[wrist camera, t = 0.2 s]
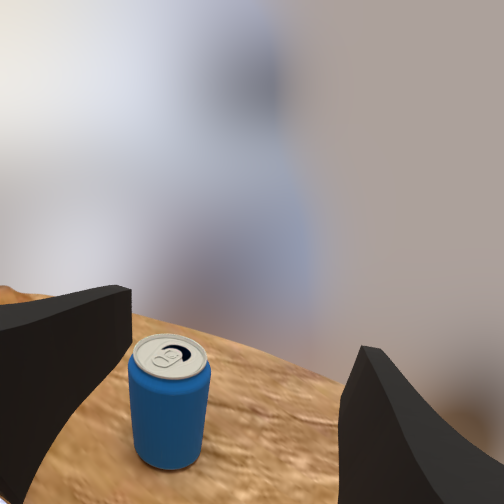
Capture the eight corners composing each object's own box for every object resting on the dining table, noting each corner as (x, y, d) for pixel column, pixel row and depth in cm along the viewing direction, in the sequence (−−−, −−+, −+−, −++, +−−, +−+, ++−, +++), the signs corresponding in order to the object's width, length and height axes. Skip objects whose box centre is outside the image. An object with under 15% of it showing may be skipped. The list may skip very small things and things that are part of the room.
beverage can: (213, 446, 28) (229, 354, 24) (173, 485, 22) (175, 394, 19) (163, 416, 30) (166, 322, 27) (120, 446, 25) (109, 350, 21)
